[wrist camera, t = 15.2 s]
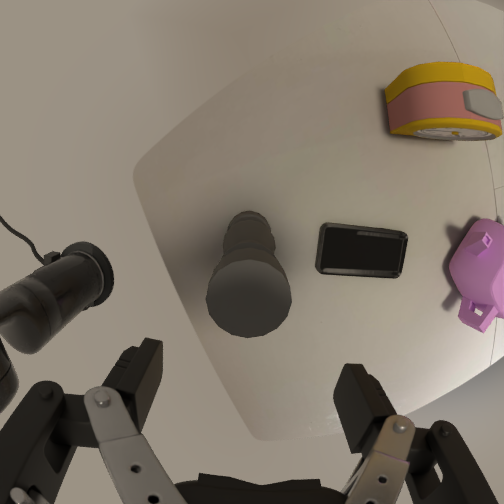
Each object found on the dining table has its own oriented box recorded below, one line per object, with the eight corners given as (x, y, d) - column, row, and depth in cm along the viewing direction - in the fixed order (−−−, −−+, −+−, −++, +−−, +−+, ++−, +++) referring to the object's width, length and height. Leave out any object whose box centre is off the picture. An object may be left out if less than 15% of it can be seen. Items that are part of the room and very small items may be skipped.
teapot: (439, 219, 43) (497, 238, 28) (500, 207, 42) (552, 220, 28) (437, 316, 48) (481, 355, 33) (496, 292, 47) (539, 320, 32)
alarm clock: (381, 137, 40) (451, 120, 22) (375, 88, 38) (438, 50, 20) (451, 143, 40) (525, 139, 22) (445, 100, 37) (515, 80, 20)
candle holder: (237, 257, 44) (223, 351, 20) (221, 219, 43) (186, 274, 19) (276, 243, 44) (306, 324, 20) (261, 204, 42) (278, 241, 18)
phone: (400, 278, 44) (315, 273, 44) (397, 276, 45) (314, 271, 45) (409, 232, 42) (322, 222, 42) (405, 230, 43) (321, 221, 43)
